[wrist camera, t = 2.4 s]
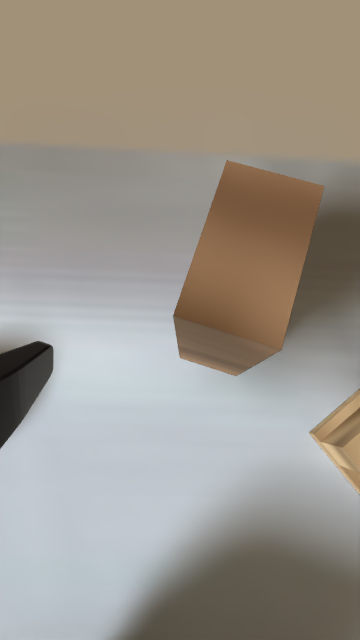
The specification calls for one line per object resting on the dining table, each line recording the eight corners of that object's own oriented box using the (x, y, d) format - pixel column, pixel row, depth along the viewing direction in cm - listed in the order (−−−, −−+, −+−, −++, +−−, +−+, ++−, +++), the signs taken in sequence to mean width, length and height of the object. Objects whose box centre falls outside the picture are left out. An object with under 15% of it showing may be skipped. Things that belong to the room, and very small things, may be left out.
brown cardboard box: (235, 376, 20) (281, 349, 10) (179, 357, 20) (173, 315, 11) (262, 284, 21) (324, 186, 12) (209, 268, 22) (226, 160, 12)
